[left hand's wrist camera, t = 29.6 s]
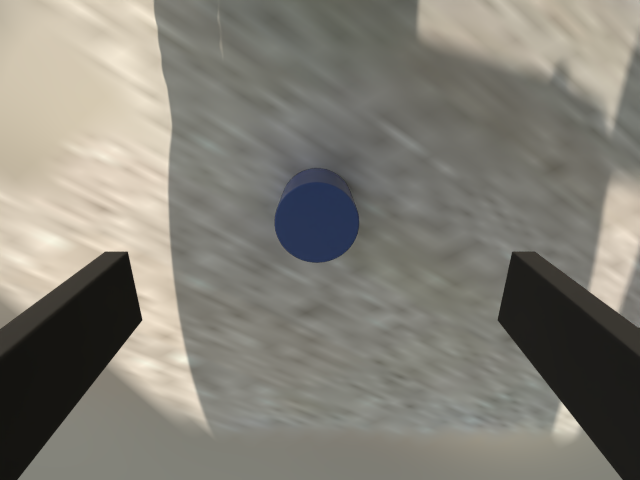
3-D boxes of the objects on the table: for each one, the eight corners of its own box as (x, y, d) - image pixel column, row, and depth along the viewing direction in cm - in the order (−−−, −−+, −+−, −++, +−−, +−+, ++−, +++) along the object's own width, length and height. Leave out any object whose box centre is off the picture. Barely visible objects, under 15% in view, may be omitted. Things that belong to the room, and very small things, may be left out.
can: (308, 153, 24) (306, 164, 20) (366, 195, 25) (376, 215, 21) (268, 210, 25) (258, 233, 21) (324, 248, 26) (325, 277, 22)
